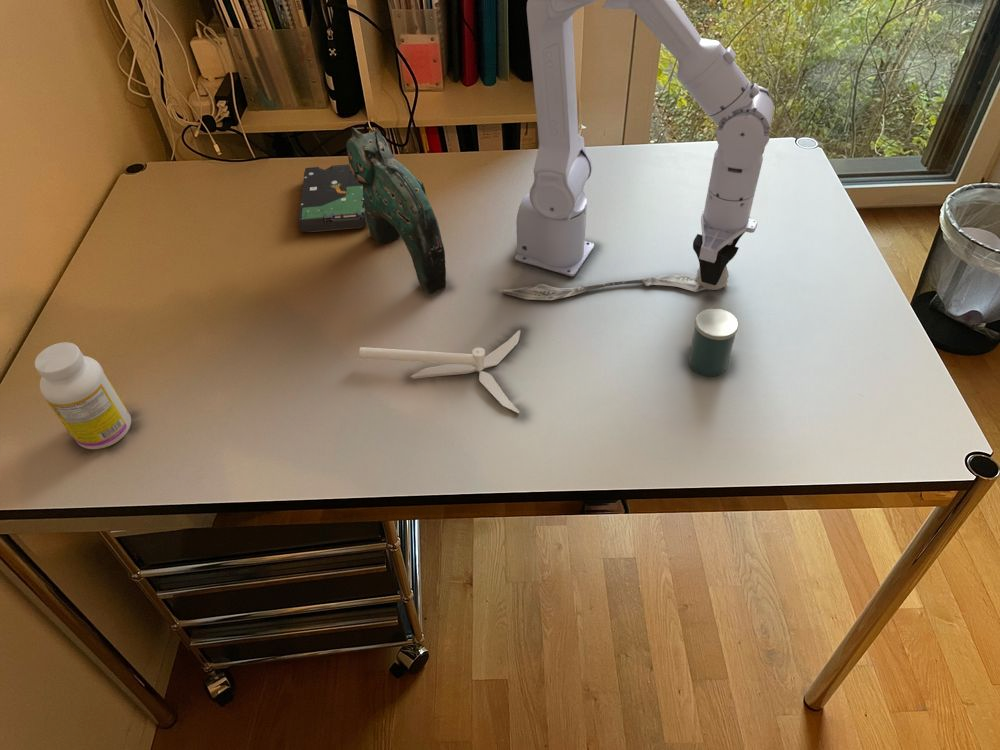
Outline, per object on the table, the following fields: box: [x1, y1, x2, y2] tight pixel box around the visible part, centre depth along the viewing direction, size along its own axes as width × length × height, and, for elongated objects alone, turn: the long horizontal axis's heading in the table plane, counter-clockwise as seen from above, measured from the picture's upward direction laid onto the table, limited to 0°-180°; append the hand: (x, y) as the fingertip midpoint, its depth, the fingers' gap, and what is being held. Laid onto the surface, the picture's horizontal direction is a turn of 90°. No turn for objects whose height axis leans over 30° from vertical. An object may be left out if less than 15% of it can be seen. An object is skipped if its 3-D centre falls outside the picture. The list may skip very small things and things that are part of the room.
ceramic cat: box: [345, 127, 447, 295], centre depth 108 cm, size 20×6×20 cm, turn 33°
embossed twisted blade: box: [498, 273, 731, 301], centre depth 108 cm, size 32×1×5 cm
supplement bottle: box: [34, 341, 132, 450], centre depth 90 cm, size 7×7×13 cm
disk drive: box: [297, 164, 368, 233], centre depth 125 cm, size 10×3×15 cm
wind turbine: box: [358, 330, 522, 414], centre depth 99 cm, size 4×14×21 cm
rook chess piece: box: [695, 240, 733, 291], centre depth 106 cm, size 4×4×8 cm
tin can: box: [688, 307, 739, 377], centre depth 96 cm, size 5×5×7 cm
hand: (713, 272), depth 107 cm, fingers closed on rook chess piece, 4 cm apart
